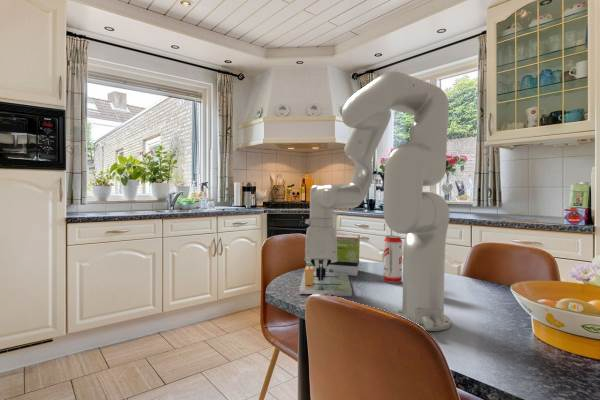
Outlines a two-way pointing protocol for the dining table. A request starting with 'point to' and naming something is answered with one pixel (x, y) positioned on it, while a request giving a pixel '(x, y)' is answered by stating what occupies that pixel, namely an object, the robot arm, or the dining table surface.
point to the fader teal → (310, 265)
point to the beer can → (392, 259)
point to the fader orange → (309, 275)
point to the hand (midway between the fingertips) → (320, 279)
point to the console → (328, 284)
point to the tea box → (345, 255)
